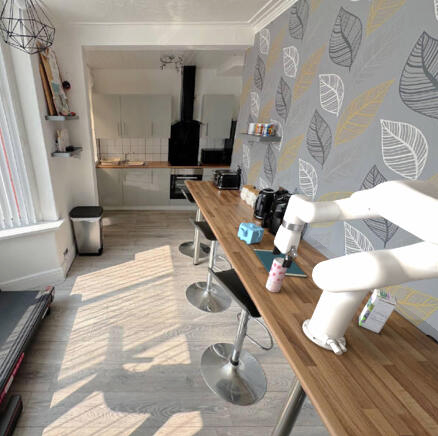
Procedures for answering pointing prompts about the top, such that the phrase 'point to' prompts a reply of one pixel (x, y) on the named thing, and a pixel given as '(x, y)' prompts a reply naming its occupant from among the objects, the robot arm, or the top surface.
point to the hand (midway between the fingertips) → (280, 260)
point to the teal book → (268, 259)
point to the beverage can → (276, 275)
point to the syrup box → (377, 310)
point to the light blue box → (250, 233)
